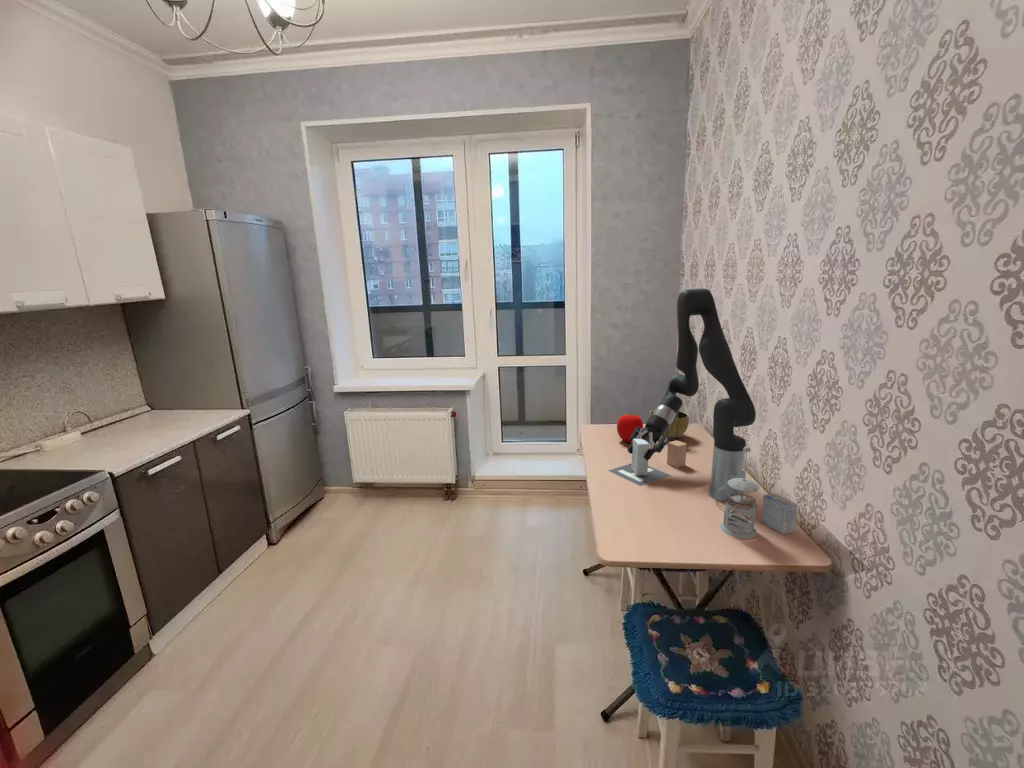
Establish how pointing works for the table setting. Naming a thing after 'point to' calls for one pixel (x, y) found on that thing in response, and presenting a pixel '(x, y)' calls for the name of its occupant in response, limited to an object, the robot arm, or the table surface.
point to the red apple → (628, 425)
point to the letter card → (639, 479)
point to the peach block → (676, 453)
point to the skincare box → (639, 457)
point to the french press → (735, 522)
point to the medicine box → (779, 513)
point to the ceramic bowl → (677, 425)
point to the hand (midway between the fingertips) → (637, 455)
